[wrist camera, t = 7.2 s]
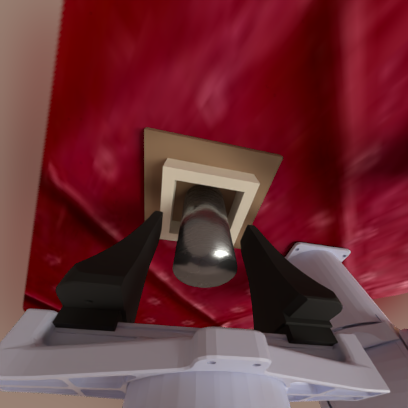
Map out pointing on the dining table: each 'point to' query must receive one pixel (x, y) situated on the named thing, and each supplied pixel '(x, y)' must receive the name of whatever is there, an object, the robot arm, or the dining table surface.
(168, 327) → the robot arm
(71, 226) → the dining table surface
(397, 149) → the dining table surface
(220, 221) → the peg
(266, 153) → the socket board
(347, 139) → the dining table surface
